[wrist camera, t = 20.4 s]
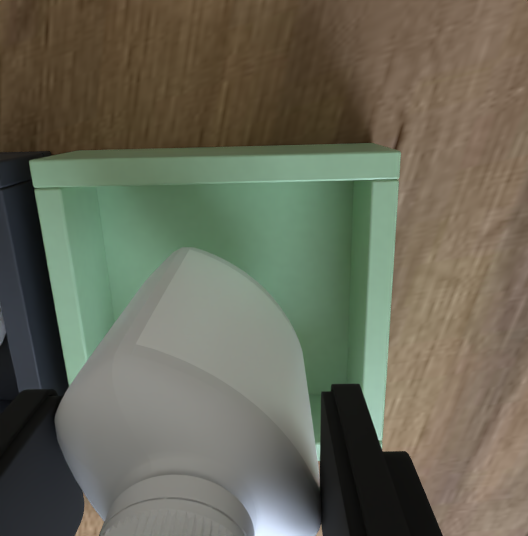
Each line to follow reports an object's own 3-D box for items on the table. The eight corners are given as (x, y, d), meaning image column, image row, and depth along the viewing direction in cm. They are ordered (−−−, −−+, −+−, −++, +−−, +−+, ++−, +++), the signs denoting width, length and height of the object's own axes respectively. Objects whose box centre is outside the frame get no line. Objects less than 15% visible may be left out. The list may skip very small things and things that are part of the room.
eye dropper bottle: (264, 220, 15) (253, 567, 3) (309, 371, 17) (401, 942, 5) (135, 256, 15) (-254, 675, 4) (191, 401, 17) (33, 991, 6)
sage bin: (76, 150, 17) (27, 160, 13) (374, 142, 17) (401, 150, 13) (113, 405, 20) (81, 465, 17) (362, 401, 20) (381, 460, 17)
